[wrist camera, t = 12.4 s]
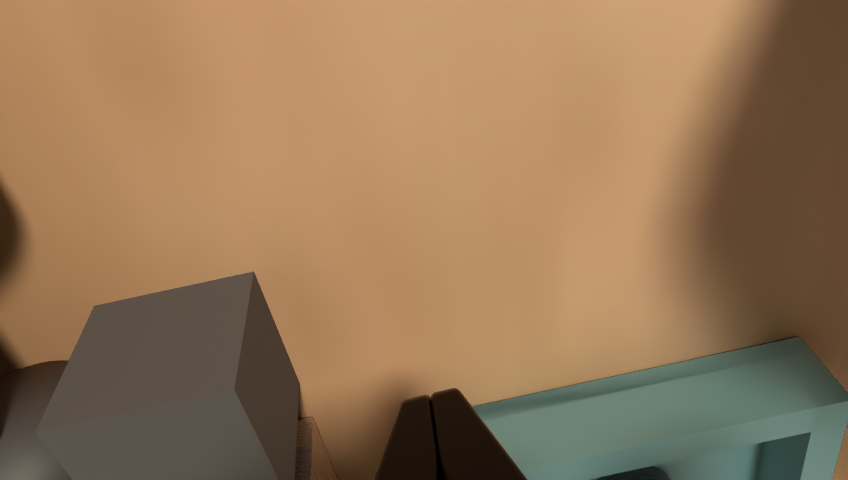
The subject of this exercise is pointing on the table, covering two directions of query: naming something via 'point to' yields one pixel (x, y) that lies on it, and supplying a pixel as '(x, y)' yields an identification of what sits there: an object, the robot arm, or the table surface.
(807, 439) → the tray
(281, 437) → the dark grey cube
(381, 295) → the table surface
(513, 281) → the table surface
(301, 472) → the socket
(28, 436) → the trolley
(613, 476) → the pin
